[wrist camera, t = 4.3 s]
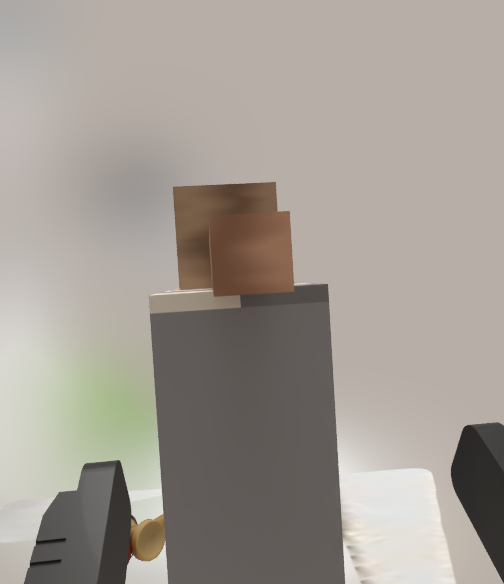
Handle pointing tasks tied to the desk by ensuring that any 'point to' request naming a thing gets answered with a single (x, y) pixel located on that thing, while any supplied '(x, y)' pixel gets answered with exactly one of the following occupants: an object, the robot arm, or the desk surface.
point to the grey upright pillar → (247, 437)
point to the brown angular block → (233, 239)
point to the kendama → (146, 538)
